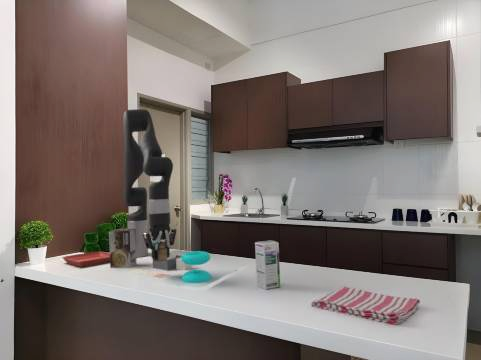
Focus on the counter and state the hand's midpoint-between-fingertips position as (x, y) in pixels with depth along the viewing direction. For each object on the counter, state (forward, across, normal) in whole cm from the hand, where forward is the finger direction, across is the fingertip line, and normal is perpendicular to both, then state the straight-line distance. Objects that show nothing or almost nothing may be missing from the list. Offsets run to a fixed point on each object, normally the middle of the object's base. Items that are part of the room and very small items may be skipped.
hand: (160, 258), depth 133 cm
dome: (+5, -11, -9) cm, 15 cm away
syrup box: (+8, -13, +38) cm, 41 cm away
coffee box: (+7, -2, -27) cm, 28 cm away
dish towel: (+8, -11, +70) cm, 72 cm away
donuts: (+8, -4, +14) cm, 16 cm away
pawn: (0, 0, 0) cm, 0 cm away
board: (+7, -6, -8) cm, 12 cm away
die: (+6, -12, -2) cm, 14 cm away
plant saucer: (+8, -1, -52) cm, 53 cm away
